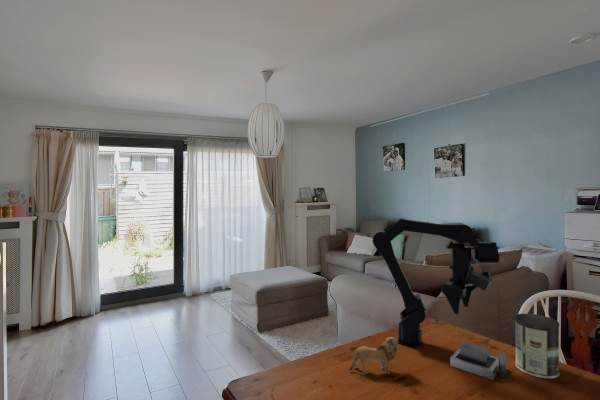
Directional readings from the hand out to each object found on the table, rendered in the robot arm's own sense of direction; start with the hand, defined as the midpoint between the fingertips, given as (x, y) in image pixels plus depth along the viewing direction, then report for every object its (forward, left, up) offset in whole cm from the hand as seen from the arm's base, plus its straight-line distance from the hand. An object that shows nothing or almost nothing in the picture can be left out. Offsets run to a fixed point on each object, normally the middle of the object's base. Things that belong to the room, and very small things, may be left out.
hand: (461, 310), depth 108 cm
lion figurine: (-14, -31, -12) cm, 36 cm away
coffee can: (+20, 0, -12) cm, 23 cm away
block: (+7, -10, -12) cm, 17 cm away
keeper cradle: (+8, -10, -12) cm, 18 cm away
